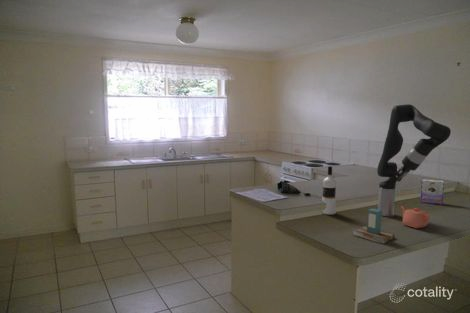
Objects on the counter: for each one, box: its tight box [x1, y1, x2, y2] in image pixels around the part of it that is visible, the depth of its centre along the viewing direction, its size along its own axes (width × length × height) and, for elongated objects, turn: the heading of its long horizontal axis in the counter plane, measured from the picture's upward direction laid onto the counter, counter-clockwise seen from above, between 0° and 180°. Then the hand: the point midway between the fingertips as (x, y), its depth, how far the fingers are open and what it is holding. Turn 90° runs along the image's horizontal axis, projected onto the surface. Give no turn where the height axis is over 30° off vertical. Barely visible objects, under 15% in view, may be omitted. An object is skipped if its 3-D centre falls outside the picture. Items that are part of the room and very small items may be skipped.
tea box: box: [366, 208, 383, 235], centre depth 176 cm, size 5×5×12 cm
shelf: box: [352, 225, 396, 244], centre depth 177 cm, size 13×16×3 cm
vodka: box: [321, 166, 337, 216], centre depth 217 cm, size 9×9×30 cm
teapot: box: [400, 205, 431, 229], centre depth 195 cm, size 12×18×10 cm, turn 29°
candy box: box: [419, 178, 445, 206], centre depth 245 cm, size 14×6×16 cm, turn 58°
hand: (394, 182), depth 174 cm, fingers open, 8 cm apart
